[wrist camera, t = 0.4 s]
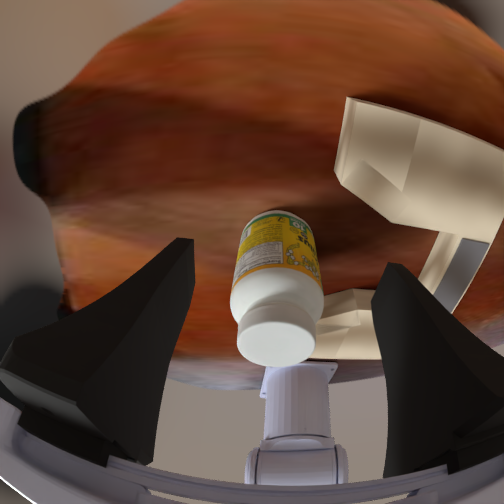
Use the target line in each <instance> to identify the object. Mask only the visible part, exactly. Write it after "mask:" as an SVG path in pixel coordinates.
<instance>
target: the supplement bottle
mask: <svg viewBox="0 0 504 504" xmlns="http://www.w3.org/2000/svg"><path fill="white" fill-rule="evenodd" d="M230 307H231V312H232V315H233V317H234V319H235V320H236V322H237V323H238V324H239V325H238V336H237V346H238V349H239V351H240V353H241V354H242V355H243V356H244V357H245V358H246V359H248V360H250V361H251V362H254V363H256V364H259V365H263V366H269V367H285V366H291V365H295V364H298V363H300V362H302V361H304V360H306V359H307V358H309V357H310V356H311V355H312V353H313V352H314V350H315V347H316V327H315V324H316V323H317V322H318V320H319V319H320V317H321V315H322V312H323V308H324V296H323V289H322V283H321V276H320V271H319V264H318V258H317V253H316V247H315V241H314V237H313V233H312V231H311V229H310V227H309V225H308V224H307V223H306V222H305V221H304V220H302V219H301V218H299V217H298V216H296V215H294V214H292V213H290V212H286V211H280V210H274V211H268V212H264V213H262V214H259V215H257V216H256V217H254V218H253V219H252V220H251V221H250V222H249V223H248V224H247V225H246V227H245V228H244V230H243V233H242V236H241V241H240V246H239V251H238V257H237V263H236V268H235V273H234V279H233V285H232V291H231V298H230Z"/></svg>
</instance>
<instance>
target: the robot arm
mask: <svg viewBox="0 0 504 504" xmlns="http://www.w3.org/2000/svg"><path fill="white" fill-rule="evenodd" d="M194 286H195V264H194V239H187V238H178V237H177V238H176V239H175V240H174V241H172V242H171V243H170V244H169V245H168V246H167V247H165V248H164V249H163V250H162V251H161V252H160V253H159V254H157V255H156V256H155V257H154V258H153V259H152V260H151V261H149V262H148V263H147V264H146V265H145V266H143V267H142V268H141V269H140V270H139V271H137V272H136V273H135V274H134V275H132V276H131V277H130V278H128V279H127V280H126V281H125V282H123V283H122V284H121V285H119V286H118V287H116V288H115V289H113V290H112V291H111V292H109V293H107V294H106V295H104V296H103V297H101V298H100V299H98V300H96V301H95V302H93V303H91V304H89V305H88V306H86V307H84V308H82V309H80V310H79V311H77V312H75V313H73V314H71V315H69V316H67V317H65V318H63V319H61V320H59V321H57V322H54V323H52V324H50V325H47V326H45V327H42V328H40V329H37V330H34V331H32V332H29V333H26V334H23V335H20V336H18V337H15V339H14V340H13V342H12V343H11V345H10V347H9V349H8V350H7V352H6V353H5V355H4V357H3V359H2V361H1V362H0V379H1V381H2V382H3V383H4V384H5V385H6V387H7V388H8V389H9V390H10V391H11V392H12V393H13V394H14V395H15V396H16V397H17V398H18V399H19V400H20V401H22V403H23V404H24V405H25V407H24V409H23V411H22V412H21V411H20V410H19V409H17V408H16V407H14V406H13V405H11V404H9V403H7V402H6V401H5V400H3V399H1V398H0V478H1V479H2V480H3V481H4V482H6V483H7V484H8V485H9V486H11V487H12V488H13V489H15V490H16V491H17V492H18V493H20V494H21V495H22V496H24V497H25V498H26V499H28V500H30V501H31V502H32V503H34V504H187V503H182V502H178V501H174V500H170V499H166V498H162V497H158V496H155V495H151V493H150V491H149V490H148V489H150V490H154V491H158V492H162V493H166V494H171V495H176V496H180V497H185V498H190V499H196V500H202V501H209V502H215V503H222V504H352V503H359V502H366V501H372V500H378V499H383V498H389V497H393V496H398V495H403V494H407V493H409V494H408V495H407V497H406V498H404V499H401V500H397V501H393V502H389V503H386V504H504V357H503V356H501V355H500V354H498V353H497V352H495V351H494V350H493V349H491V348H490V347H489V346H487V345H486V344H485V343H484V342H482V341H481V340H480V339H479V338H477V337H476V336H475V335H474V334H473V333H471V332H470V331H469V330H468V329H467V328H466V327H465V326H464V325H462V324H461V323H460V322H459V321H458V320H457V319H456V318H455V317H454V316H453V315H452V314H451V313H450V312H449V311H448V310H447V309H446V308H445V307H444V306H443V305H442V304H441V303H440V302H439V301H438V300H437V299H436V298H435V297H434V296H433V295H432V294H431V293H430V291H429V290H428V289H427V288H426V287H425V286H424V285H423V284H422V283H421V282H420V281H419V280H418V279H417V278H416V277H415V276H414V275H413V274H412V273H411V272H410V271H409V270H408V269H407V268H406V267H404V266H403V265H402V264H397V263H389V262H388V264H387V266H386V268H385V271H384V273H383V275H382V277H381V280H380V282H379V284H378V286H377V289H376V291H375V293H374V295H373V297H372V299H371V310H372V318H373V325H374V330H375V334H376V338H377V342H378V346H379V350H380V354H381V359H382V363H383V368H384V372H385V378H386V386H387V400H388V438H387V451H386V460H385V467H384V473H383V479H377V480H371V481H363V482H354V483H348V459H347V453H346V450H345V449H344V448H343V447H342V446H341V445H340V444H336V445H334V437H331V424H330V408H329V394H328V383H329V382H330V380H331V378H332V376H333V375H334V373H335V371H336V369H337V368H338V364H337V363H336V362H314V361H302V362H300V363H298V364H295V365H291V366H285V367H269V366H266V370H265V374H264V379H263V383H262V387H261V392H260V397H261V398H266V409H265V425H264V440H261V441H260V448H259V447H258V448H257V447H255V448H254V449H253V450H252V451H251V452H250V453H249V454H248V457H247V461H246V467H245V484H244V483H234V482H225V481H217V480H210V479H204V478H197V477H192V476H187V475H181V474H177V473H172V472H168V471H163V470H159V469H155V468H151V467H147V466H146V465H148V464H149V463H151V462H153V455H154V446H155V438H156V430H157V424H158V417H159V411H160V405H161V400H162V395H163V390H164V385H165V381H166V376H167V372H168V367H169V363H170V360H171V357H172V354H173V351H174V348H175V345H176V342H177V340H178V337H179V334H180V331H181V329H182V326H183V323H184V321H185V318H186V315H187V312H188V310H189V307H190V303H191V299H192V295H193V290H194Z"/></svg>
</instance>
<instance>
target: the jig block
mask: <svg viewBox="0 0 504 504" xmlns="http://www.w3.org/2000/svg"><path fill="white" fill-rule="evenodd" d="M334 171H335V173H336V175H337V177H338V179H339V181H340V183H341V185H342V186H344V187H345V188H347V189H348V190H349V191H351V192H352V193H353V194H355V195H356V196H358V197H359V198H360V199H362V200H363V201H364V202H366V203H367V204H368V205H370V206H371V207H372V208H374V209H375V210H376V211H377V212H379V213H380V214H381V215H383V216H384V217H385V218H386V219H388V220H389V221H390V222H391V223H396V224H402V225H408V226H414V227H419V228H425V229H431V230H436V231H440V232H439V234H438V237H437V239H436V241H435V244H434V246H433V248H432V250H431V253H430V255H429V257H428V259H427V261H426V263H425V266H424V268H423V270H422V272H421V274H420V276H419V278H418V280H419V281H420V282H421V283H422V284H423V285H424V286H425V287H426V288H427V289H428V290H429V291H430V293H431V294H432V295H433V296H434V297H435V298H436V299H437V300H438V301H439V302H440V303H441V304H442V305H443V306H444V307H445V308H446V309H447V310H448V311H449V312H450V313H451V314H452V313H453V311H454V310H455V308H456V306H457V305H458V303H459V302H460V300H461V298H462V297H463V295H464V294H465V292H466V290H467V289H468V287H469V285H470V283H471V282H472V280H473V278H474V276H475V275H476V273H477V271H478V269H479V267H480V266H481V264H482V262H483V260H484V258H485V256H486V254H487V252H488V250H489V248H490V246H491V244H492V242H493V240H494V238H495V236H496V233H497V231H498V229H499V227H500V224H501V222H502V220H503V217H504V150H503V149H501V148H499V147H497V146H495V145H493V144H490V143H488V142H486V141H484V140H482V139H479V138H477V137H475V136H472V135H470V134H468V133H465V132H463V131H460V130H458V129H455V128H452V127H450V126H447V125H444V124H442V123H439V122H436V121H433V120H430V119H427V118H424V117H421V116H418V115H415V114H412V113H409V112H405V111H402V110H398V109H395V108H391V107H388V106H384V105H380V104H376V103H372V102H368V101H364V100H359V99H355V98H350V97H347V99H346V105H345V111H344V117H343V123H342V129H341V135H340V140H339V146H338V151H337V157H336V162H335V167H334ZM375 291H376V290H365V289H353V288H352V289H349V290H345V291H341V292H337V293H334V294H330V295H326V296H324V308H323V312H322V315H321V317H320V319H319V320H318V322H317V323H316V324H315V327H316V347H315V350H314V352H313V353H312V355H311V356H310V357H309V358H326V359H381V354H380V350H379V346H378V342H377V338H376V334H375V330H374V325H373V318H372V310H371V299H372V297H373V295H374V293H375Z"/></svg>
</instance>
